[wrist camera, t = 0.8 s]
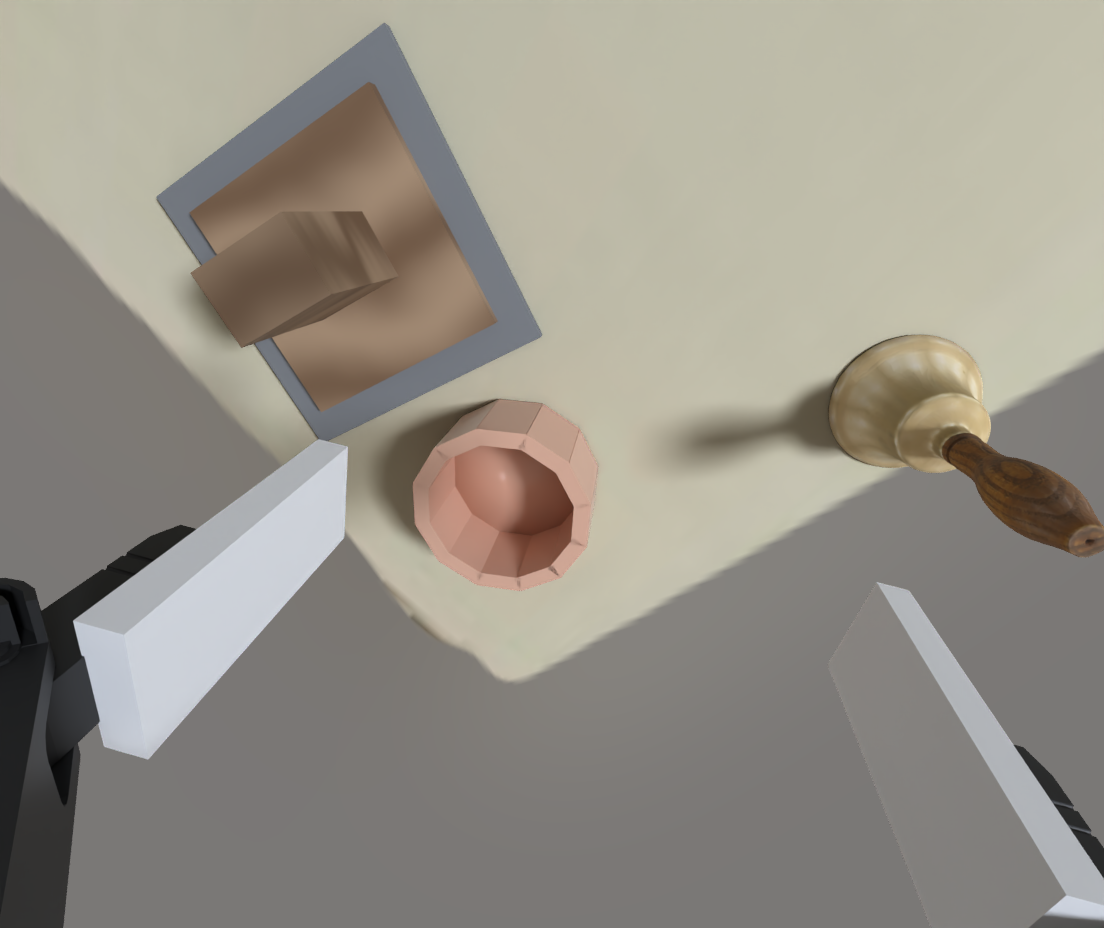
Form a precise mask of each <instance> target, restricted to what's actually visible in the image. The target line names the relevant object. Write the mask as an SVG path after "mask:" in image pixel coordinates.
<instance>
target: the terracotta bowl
mask: <svg viewBox="0 0 1104 928" xmlns="http://www.w3.org/2000/svg"><path fill="white" fill-rule="evenodd" d="M597 474H598V464H597V462H596V460H595V458H594V456H593V454H592V452H591V450H590V448H589V446H588V444H587V442H586V440H585V438H584V436H583V434H582V432H581V430H580V429H579V428H578V427H577V426H575V425H574V424H572V423H571V422H569V421H568V420H566V419H565V418H563V417H562V416H560V415H559V414H557V413H556V412H555V411H553V410H552V409H550V408H549V407H547V406H546V405H544V404H543V405H542V403H532V402H522V401H512V400H502V399H498V400H496V401H494V402H492V403H490V404H488V405H485V406H483V407H481V408H479V409H477V410H475V411H472V412H470V413H468V414H466V415H464V416H462V417H461V418H460V419H459V420H458V422H457V423H456V424H455V425H454V426H453V427H452V428H451V429H450V431H449V432H448V433H447V434H446V435H445V436H444V437H443V438H442V439H441V441H440V442H439V443H438V444H437V445H436V446H435V447H434V449H433V450H432V452H431V454H430V455H429V457H428V459H427V460H426V462H425V463H424V465H423V467H422V468H421V470H420V472H419V473H418V475H417V477H416V478H415V480H414V482H413V501H414V518H415V525H416V527H417V529H418V530H419V532H420V533H421V535H422V536H423V538H424V539H425V541H426V542H427V544H428V546H429V547H430V549H431V550H432V552H433V553H434V555H435V556H436V558H437V559H438V561H439V562H441V563H442V564H444V565H446V566H447V567H449V568H450V569H452V570H454V571H455V572H457V573H458V574H460V575H462V576H463V577H465V578H466V579H468V580H470V581H471V582H473V583H474V584H477V585H481V586H488V587H495V588H502V589H510V590H517V591H520V590H521V591H522V590H525V589H528V588H531V587H534V586H538V585H541V584H544V583H547V582H550V581H553V580H556V579H559V578H561V577H562V576H563V575H564V573H565V572H566V571H567V570H568V569H569V568H570V566H571V565H572V564H573V563H574V562H575V560H576V559H577V558H578V557H579V556H580V555H581V553H582V552H583V551H584V550H585V549H586V548H587V544H588V538H589V533H590V527H591V521H592V516H593V510H594V504H595V495H596V485H597Z"/></svg>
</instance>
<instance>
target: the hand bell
mask: <svg viewBox="0 0 1104 928" xmlns="http://www.w3.org/2000/svg"><path fill="white" fill-rule="evenodd" d="M982 399H983V381H982V377H981V373H980V370H979V368H978V366H977V364H976V362H975V361H974V359H973V358H972V357H971V355H970V354H969V353H968V352H967V351H966V350H964V349H963V348H962V347H960V346H959V345H957V344H956V343H954V342H952V341H949V340H947V339H944V338H941V337H937V336H930V335H908V336H902V337H898V338H894V339H891V340H888V341H884V342H882V343H880V344H878V345H876V346H874V347H872V348H871V349H869V350H867V351H866V352H865V353H863V354H862V355H861V356H859V357H858V358H857V359H856V360H854V361H853V362H852V363H851V364H850V365H849V366H848V368H847V369H846V370H845V371H844V372H843V373H842V375H841V376H840V378H839V379H838V382H837V384H836V386H835V387H834V390H833V392H832V395H831V399H830V404H829V422H830V427H831V430H832V433H833V435H834V437H835V439H836V440H837V442H838V443H839V445H840V446H841V447H842V448H843V449H844V450H845V451H846V452H847V453H848V454H849V455H851V456H852V457H854V458H856V459H857V460H859V461H862V462H864V463H866V464H870V465H873V466H879V467H887V468H899V467H907V466H909V467H911V468H913V469H916V470H919V471H923V472H929V473H940V472H946V471H951V470H954V469H958V470H960V471H961V472H963V473H964V474H966V475H967V476H969V477H970V478H971V479H972V480H973V481H974V482H975V484H976V487H977V490H978V492H979V494H980V496H981V498H982V500H983V501H984V503H985V504H986V505H987V506H988V508H989V509H990V510H991V511H992V512H993V514H994V515H995V516H996V517H998V518H999V519H1000V520H1001V521H1002V522H1003V523H1004V524H1006V525H1007V526H1008V527H1010V528H1011V529H1013V530H1014V531H1016V532H1017V533H1019V534H1021V535H1023V536H1025V537H1027V538H1029V539H1031V540H1034V541H1037V542H1040V543H1043V544H1046V545H1050V546H1053V547H1056V548H1059V549H1062V550H1064V551H1067V552H1069V553H1071V554H1073V555H1076V556H1078V557H1089V556H1092V555H1094V554H1097V553H1099V552H1101V551H1103V550H1104V526H1103V525H1102V524H1101V523H1100V522H1099V520H1098V518H1097V517H1096V515H1095V514H1094V511H1093V509H1092V508H1091V506H1090V504H1089V502H1088V501H1087V499H1086V498H1085V497H1084V496H1083V494H1082V493H1081V492H1080V491H1079V490H1078V489H1077V488H1076V487H1075V486H1074V485H1073V484H1071V483H1070V482H1068V481H1067V480H1066V479H1064V478H1063V477H1061V476H1060V475H1058V474H1056V473H1055V472H1053V471H1051V470H1049V469H1047V468H1045V467H1043V466H1040V465H1038V464H1035V463H1032V462H1029V461H1026V460H1022V459H1018V458H1012V457H1006V456H1004V455H1001V454H1000V453H998V452H997V451H995V450H994V449H993V448H992V447H990V446H989V445H988V444H986V442H987V441H988V438H989V435H990V430H991V423H990V418H989V415H988V412H987V411H986V409H985V408H984V406H983V405H982Z"/></svg>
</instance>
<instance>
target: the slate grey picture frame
mask: <svg viewBox="0 0 1104 928" xmlns="http://www.w3.org/2000/svg"><path fill="white" fill-rule="evenodd" d="M367 82H370V83H372V84H375V85H376V87H377V89H378V91H379V93H380V95H381V97H382V99H383V101H384V103H385V105H386V107H387V109H388V110H389V112H390V114H391V116H392V118H393V120H394V122H395V124H396V126H397V128H398V130H399V132H400V134H401V135H402V137H403V139H404V141H405V143H406V145H407V147H408V149H409V151H410V153H411V155H412V157H413V159H414V161H415V162H416V164H417V166H418V168H419V170H420V172H421V174H422V176H423V178H424V180H425V182H426V184H427V186H428V187H429V189H430V191H431V193H432V195H433V197H434V199H435V201H436V203H437V205H438V207H439V209H440V211H441V213H442V214H443V216H444V218H445V220H446V222H447V224H448V226H449V228H450V230H451V232H452V234H453V236H454V238H455V239H456V241H457V243H458V245H459V247H460V249H461V251H462V253H463V255H464V257H465V259H466V261H467V263H468V265H469V266H470V268H471V270H472V272H473V274H474V276H475V278H476V280H477V282H478V284H479V286H480V288H481V290H482V291H483V293H484V295H485V297H486V299H487V301H488V303H489V305H490V307H491V309H492V311H493V313H494V315H495V317H496V318H497V320H498V322H496V323H495V324H493V325H491V326H489V327H487V328H486V329H484V330H482V331H480V332H478V333H476V334H474V335H472V336H470V337H468V338H466V339H464V340H462V341H460V342H458V343H456V344H454V345H452V346H450V347H448V348H446V349H444V350H442V351H440V352H439V353H437V354H435V355H433V356H431V357H429V358H427V359H425V360H423V361H421V362H419V363H417V364H415V365H413V366H411V367H409V368H407V369H405V370H403V371H401V372H399V373H397V374H395V375H394V376H392V377H390V378H388V379H386V380H384V381H382V382H380V383H378V384H376V385H374V386H372V387H370V388H368V389H366V390H364V391H362V392H360V393H358V394H356V395H354V396H352V397H350V398H349V399H347V400H345V401H343V402H341V403H339V404H337V405H335V406H333V407H331V408H329V409H327V410H325V411H323V412H321V411H320V410H319V408H318V407H317V405H316V404H315V402H314V401H313V399H312V398H311V396H310V395H309V393H308V392H307V390H306V388H305V387H304V385H303V384H302V382H301V381H300V379H299V378H298V376H297V375H296V373H295V372H294V370H293V369H292V367H291V366H290V364H289V363H288V361H287V360H286V358H285V357H284V355H283V354H282V352H281V351H280V349H279V348H278V346H277V345H276V343H275V342H274V340H273V339H272V337H271V338H268V339H265V340H263V341H260V342H257V343H255V345H256V346H257V348H258V349H259V351H260V352H261V354H262V355H263V357H264V358H265V359H266V361H267V362H268V364H269V365H270V367H271V368H272V370H273V371H274V373H275V374H276V376H277V377H278V379H279V380H280V382H281V383H282V385H283V386H284V388H285V389H286V391H287V392H288V394H289V395H290V397H291V398H292V400H293V401H294V403H295V404H296V406H297V407H298V408H299V410H300V411H301V413H302V414H303V416H304V417H305V419H306V420H307V422H308V423H309V425H310V426H311V428H312V429H313V431H314V432H315V434H316V435H317V437H318V438H319V439H320V440H324V441H328V440H331V439H333V438H335V437H337V436H339V435H341V434H343V433H345V432H347V431H349V430H351V429H353V428H355V427H357V426H359V425H361V424H363V423H365V422H367V421H369V420H372V419H374V418H376V417H378V416H380V415H382V414H384V413H386V412H388V411H390V410H392V409H394V408H396V407H398V406H400V405H402V404H404V403H406V402H408V401H411V400H413V399H415V398H417V397H419V396H421V395H423V394H425V393H427V392H429V391H431V390H433V389H435V388H437V387H439V386H441V385H443V384H445V383H447V382H449V381H452V380H454V379H456V378H458V377H460V376H462V375H464V374H466V373H468V372H470V371H472V370H474V369H476V368H478V367H480V366H482V365H484V364H486V363H488V362H490V361H493V360H495V359H497V358H499V357H501V356H503V355H505V354H507V353H509V352H511V351H513V350H515V349H517V348H519V347H521V346H523V345H525V344H527V343H529V342H531V341H534V340H536V339H538V338H540V337H541V336H542V333H541V331H540V329H539V327H538V325H537V323H536V321H535V319H534V317H533V315H532V313H531V311H530V309H529V307H528V305H527V303H526V301H525V299H524V297H523V295H522V293H521V291H520V289H519V287H518V285H517V283H516V281H515V279H514V277H513V275H512V273H511V271H510V269H509V267H508V265H507V263H506V261H505V259H504V257H503V255H502V253H501V251H500V249H499V247H498V244H497V242H496V240H495V238H494V236H493V234H492V232H491V230H490V228H489V226H488V224H487V222H486V220H485V218H484V216H483V214H482V212H481V210H480V208H479V206H478V204H477V202H476V200H475V198H474V196H473V194H472V192H471V190H470V188H469V186H468V184H467V182H466V180H465V178H464V176H463V174H462V172H461V170H460V168H459V166H458V164H457V162H456V160H455V158H454V156H453V154H452V152H451V150H450V148H449V146H448V144H447V142H446V140H445V138H444V136H443V134H442V132H441V130H440V128H439V126H438V124H437V122H436V120H435V118H434V116H433V114H432V112H431V110H430V108H429V106H428V104H427V102H426V100H425V98H424V95H423V93H422V91H421V89H420V87H419V85H418V83H417V81H416V79H415V77H414V75H413V73H412V71H411V69H410V67H409V65H408V63H407V61H406V59H405V57H404V55H403V53H402V51H401V49H400V47H399V45H398V43H397V41H396V39H395V37H394V35H393V33H392V31H391V29H390V27H389V26H388V25H387V24H385V23H383V24H382V25H381V26H379V27H378V28H377V29H375V30H374V31H373V32H372V33H370V34H369V35H368V36H366V37H365V38H364V39H362V40H361V41H360V42H358V43H357V44H356V45H355V46H353V47H352V48H351V49H349V50H348V51H347V52H345V53H344V54H343V55H341V56H340V57H339V58H337V59H336V60H335V61H334V62H332V63H331V64H330V65H328V66H327V67H326V68H324V69H323V70H322V71H320V72H319V73H318V74H317V75H315V76H314V77H313V78H311V79H310V80H309V81H307V82H306V83H305V84H303V85H302V86H301V87H299V88H298V89H297V90H296V91H294V92H293V93H292V94H290V95H289V96H288V97H286V98H285V99H284V100H282V101H281V102H280V103H279V104H277V105H276V106H275V107H273V108H272V109H271V110H269V111H268V112H267V113H265V114H264V115H263V116H261V117H260V118H259V119H258V120H256V121H255V122H254V123H252V124H251V125H250V126H248V127H247V128H246V129H244V130H243V131H242V132H241V133H239V134H238V135H237V136H235V137H234V138H233V139H231V140H230V141H229V142H227V143H226V144H225V145H223V146H222V147H221V148H220V149H218V150H217V151H216V152H214V153H213V154H212V155H210V156H209V157H208V158H206V159H205V160H204V161H203V162H201V163H200V164H199V165H197V166H196V167H195V168H193V169H192V170H191V171H189V172H188V173H187V174H185V175H184V176H183V177H182V178H180V179H179V180H178V181H176V182H175V183H174V184H172V185H171V186H170V187H168V188H167V189H166V190H165V191H163V192H162V193H161V194H159V195H158V196H157V197H156V198H157V199H158V201H159V202H160V204H161V205H162V207H163V208H164V210H165V211H166V213H167V214H168V215H169V217H170V218H171V220H172V221H173V223H174V224H175V226H176V227H177V229H178V230H179V232H180V233H181V235H182V236H183V238H184V239H185V241H186V242H187V244H188V245H189V247H190V248H191V250H192V251H193V253H194V254H195V256H196V257H197V259H198V260H199V262H200V263H201V264H202V265H203V264H204V263H206V262H207V261H209V260H210V259H212V258H213V257H215V256H216V255H217V254H216V252H215V251H214V249H213V248H212V246H211V245H210V243H209V242H208V240H207V239H206V237H205V236H204V234H203V233H202V231H201V230H200V228H199V227H198V225H197V224H196V222H195V221H194V219H193V217H192V216H191V214H190V213H189V212H191V211H192V210H193V209H195V208H196V207H198V206H199V205H200V204H202V203H203V202H204V201H206V200H207V199H208V198H210V197H211V196H213V195H214V194H215V193H217V192H218V191H219V190H221V189H222V188H224V187H225V186H226V185H228V184H229V183H230V182H232V181H233V180H235V179H236V178H237V177H239V176H240V175H241V174H243V173H244V172H245V171H247V170H248V169H250V168H251V167H252V166H254V165H255V164H256V163H258V162H259V161H261V160H262V159H263V158H265V157H266V156H267V155H269V154H270V153H272V152H273V151H274V150H276V149H277V148H278V147H280V146H281V145H282V144H284V143H285V142H287V141H288V140H289V139H291V138H292V137H293V136H295V135H296V134H298V133H299V132H300V131H302V130H303V129H304V128H306V127H307V126H309V125H310V124H311V123H313V122H314V121H315V120H317V119H318V118H319V117H321V116H322V115H324V114H325V113H326V112H328V111H329V110H330V109H332V108H333V107H335V106H336V105H337V104H339V103H340V102H341V101H343V100H344V99H346V98H347V97H348V96H350V95H351V94H352V93H354V92H355V91H356V90H358V89H359V88H361V87H362V86H363V85H365V84H366V83H367Z"/></svg>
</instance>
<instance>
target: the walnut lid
mask: <svg viewBox="0 0 1104 928" xmlns="http://www.w3.org/2000/svg"><path fill="white" fill-rule="evenodd" d="M189 213H190V214H191V216H192V217H193V219H194V221H195V222H196V224H197V225H198V227H199V228H200V230H201V231H202V233H203V234H204V236H205V237H206V239H207V240H208V242H209V243H210V245H211V246H212V248H213V249H214V251H215V252H216V254H217V255H216V256H215V257H213V258H212V259H210V260H209V261H207V262H206V263H204V264H203V265H201V266H200V267H198V268H197V269H196V270H194V271H193V272H191V275H192V276H193V278H194V279H195V281H196V282H197V283H198V285H199V286H200V288H201V289H202V291H203V292H204V294H205V295H206V297H207V298H208V300H209V301H210V302H211V304H212V305H213V307H214V308H215V310H216V311H217V313H218V314H219V316H220V317H221V319H222V320H223V321H224V323H225V324H226V326H227V327H228V329H229V330H230V332H231V333H232V335H233V336H234V338H235V339H236V341H237V342H238V343H239V345H240V346H241V348H242V347H245V346H248V345H251V344H254V343H257V342H260V341H263V340H265V339H268V338H271V337H272V339H273V340H274V342H275V343H276V345H277V346H278V348H279V349H280V351H281V352H282V354H283V355H284V357H285V358H286V360H287V361H288V363H289V364H290V366H291V367H292V369H293V370H294V372H295V373H296V375H297V376H298V378H299V379H300V381H301V382H302V384H303V385H304V387H305V388H306V390H307V392H308V393H309V395H310V396H311V398H312V399H313V401H314V402H315V404H316V405H317V407H318V408H319V410H320V411H321V412H323V411H325V410H327V409H329V408H331V407H333V406H335V405H337V404H339V403H341V402H343V401H345V400H347V399H349V398H350V397H352V396H354V395H356V394H358V393H360V392H362V391H364V390H366V389H368V388H370V387H372V386H374V385H376V384H378V383H380V382H382V381H384V380H386V379H388V378H390V377H392V376H394V375H395V374H397V373H399V372H401V371H403V370H405V369H407V368H409V367H411V366H413V365H415V364H417V363H419V362H421V361H423V360H425V359H427V358H429V357H431V356H433V355H435V354H437V353H439V352H440V351H442V350H444V349H446V348H448V347H450V346H452V345H454V344H456V343H458V342H460V341H462V340H464V339H466V338H468V337H470V336H472V335H474V334H476V333H478V332H480V331H482V330H484V329H486V328H487V327H489V326H491V325H493V324H495V323H496V322H498V320H497V318H496V317H495V315H494V313H493V311H492V309H491V307H490V305H489V303H488V301H487V299H486V297H485V295H484V293H483V291H482V290H481V288H480V286H479V284H478V282H477V280H476V278H475V276H474V274H473V272H472V270H471V268H470V266H469V265H468V263H467V261H466V259H465V257H464V255H463V253H462V251H461V249H460V247H459V245H458V243H457V241H456V239H455V238H454V236H453V234H452V232H451V230H450V228H449V226H448V224H447V222H446V220H445V218H444V216H443V214H442V213H441V211H440V209H439V207H438V205H437V203H436V201H435V199H434V197H433V195H432V193H431V191H430V189H429V187H428V186H427V184H426V182H425V180H424V178H423V176H422V174H421V172H420V170H419V168H418V166H417V164H416V162H415V161H414V159H413V157H412V155H411V153H410V151H409V149H408V147H407V145H406V143H405V141H404V139H403V137H402V135H401V134H400V132H399V130H398V128H397V126H396V124H395V122H394V120H393V118H392V116H391V114H390V112H389V110H388V109H387V107H386V105H385V103H384V101H383V99H382V97H381V95H380V93H379V91H378V89H377V87H376V85H375V84H372V83H370V82H367V83H366V84H365V85H363V86H362V87H361V88H359V89H358V90H356V91H355V92H354V93H352V94H351V95H350V96H348V97H347V98H346V99H344V100H343V101H341V102H340V103H339V104H337V105H336V106H335V107H333V108H332V109H330V110H329V111H328V112H326V113H325V114H324V115H322V116H321V117H319V118H318V119H317V120H315V121H314V122H313V123H311V124H310V125H309V126H307V127H306V128H304V129H303V130H302V131H300V132H299V133H298V134H296V135H295V136H293V137H292V138H291V139H289V140H288V141H287V142H285V143H284V144H282V145H281V146H280V147H278V148H277V149H276V150H274V151H273V152H272V153H270V154H269V155H267V156H266V157H265V158H263V159H262V160H261V161H259V162H258V163H256V164H255V165H254V166H252V167H251V168H250V169H248V170H247V171H245V172H244V173H243V174H241V175H240V176H239V177H237V178H236V179H235V180H233V181H232V182H230V183H229V184H228V185H226V186H225V187H224V188H222V189H221V190H219V191H218V192H217V193H215V194H214V195H213V196H211V197H210V198H208V199H207V200H206V201H204V202H203V203H202V204H200V205H199V206H198V207H196V208H195V209H193V210H192V211H191V212H189Z"/></svg>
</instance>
